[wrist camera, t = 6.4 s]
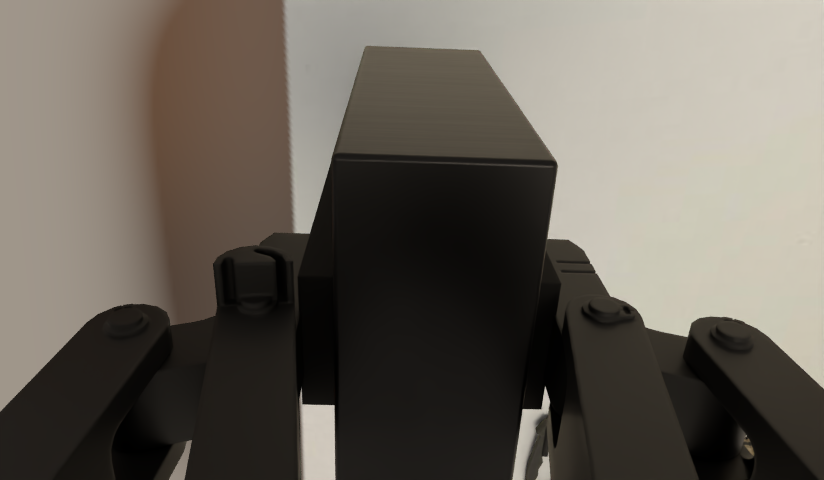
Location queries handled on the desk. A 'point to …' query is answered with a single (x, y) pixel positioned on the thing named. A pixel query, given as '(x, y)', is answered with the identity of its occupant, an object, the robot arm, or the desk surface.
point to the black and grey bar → (434, 267)
